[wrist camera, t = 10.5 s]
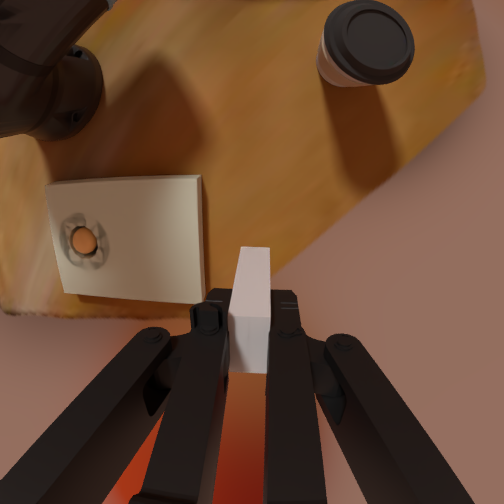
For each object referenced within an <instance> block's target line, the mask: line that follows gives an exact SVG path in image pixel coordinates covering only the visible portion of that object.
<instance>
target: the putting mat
mask: <svg viewBox="0 0 504 504" xmlns="http://www.w3.org/2000/svg"><path fill="white" fill-rule="evenodd" d="M45 192H46V200H47V207H48V214H49V221H50V227H51V233H52V238H53V244H54V249H55V254H56V259H57V263H58V268H59V272H60V276H61V281H62V285H63V289H64V293H72V294H81V295H90V296H100V297H110V298H121V299H132V300H144V301H157V302H171V303H186V304H197V303H200V302H203V301H204V298H205V295H206V291H205V272H204V250H203V222H202V180H201V175H158V176H130V177H110V178H93V179H79V180H67V181H55V182H53V183H50V184H48V185H45ZM82 227H86V228H88V229H90V230H91V231H92V232H93V234H94V235H95V237H96V238H97V246H96V247H95V249H94V250H93V251H92V252H90V253H87V254H83V253H80V252H78V251H77V250H76V249H75V247H74V245H73V236H74V233H75V232H76V231H77V230H78V229H79V228H82Z"/></svg>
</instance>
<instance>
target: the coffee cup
mask: <svg viewBox="0 0 504 504" xmlns="http://www.w3.org/2000/svg"><path fill="white" fill-rule="evenodd" d="M414 50H415V46H414V39H413V35H412V32H411V30H410V28H409V26H408V24H407V23H406V21H405V20H404V19H403V18H402V17H401V15H400V14H398V13H397V12H396V11H395V10H394V9H392V8H391V7H389V6H387V5H385V4H383V3H381V2H378V1H374V0H355V1H351V2H347V3H344V4H342V5H340V6H338V7H337V8H335V9H334V10H333V11H332V12H331V13H330V15H329V16H328V18H327V20H326V23H325V26H324V30H323V33H322V36H321V40H320V44H319V47H318V53H317V57H316V65H317V69H318V71H319V73H320V74H321V76H322V77H323V78H324V79H325V80H326V81H327V82H329V83H330V84H332V85H335V86H338V87H358V86H368V85H382V84H388V83H391V82H394V81H396V80H398V79H399V78H401V77H402V76H403V75H404V74H405V73H406V71H407V70H408V68H409V67H410V65H411V63H412V60H413V57H414Z"/></svg>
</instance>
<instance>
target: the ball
mask: <svg viewBox="0 0 504 504" xmlns="http://www.w3.org/2000/svg"><path fill="white" fill-rule="evenodd" d="M73 245H74V247H75V249H76V250H77V251H78V252H80V253H83V254H87V253H90V252H92V251H93V250H94V249H95V247H96V246H97V238H96V237H95V235H94V234H93V232H92V231H91V230H90V229H88V228H86V227H82V228H79V229H78V230H77V231H76V232H75V233H74V236H73Z"/></svg>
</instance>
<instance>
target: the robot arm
mask: <svg viewBox="0 0 504 504" xmlns="http://www.w3.org/2000/svg"><path fill="white" fill-rule="evenodd" d="M116 1H117V0H0V138H3V137H8V136H13V135H18V134H27V135H29V136H32V137H34V138H37V139H40V140H43V141H57V140H63V139H66V138H69V137H71V136H73V135H75V134H76V133H78V132H79V131H80V130H81V129H83V128H84V127H85V125H86V124H87V123H88V122H89V121H90V119H91V118H92V116H93V114H94V112H95V110H96V108H97V106H98V103H99V100H100V97H101V92H102V72H101V68H100V65H99V63H98V60H97V59H96V57H95V56H94V55H93V54H92V53H91V52H90V51H89V50H88V49H86V48H84V47H81V46H78V45H75V43H76V42H77V41H78V40H79V39H80V38H81V37H82V35H83V34H84V33H85V32H86V31H87V30H88V29H89V28H90V27H91V26H92V25H93V24H94V23H95V22H96V21H97V20H98V19H99V18H100V17H101V16H102V15H103V14H104V13H105V12H106V11H109V10H111V9H112V7H113V4H114V3H115V2H116ZM190 320H191V331H190V332H189V333H187V334H183V335H178V336H170V333H169V332H168V331H167V330H166V329H164V328H161V327H148V328H146V329H143V330H141V331H140V332H139V333H137V334H136V335H135V336H134V337H133V338H132V339H131V340H130V341H129V343H128V344H127V345H126V346H125V347H124V348H123V349H122V350H121V351H120V352H119V353H118V354H117V355H116V356H115V357H114V358H113V359H112V360H111V361H110V362H109V363H108V364H107V365H106V366H105V367H104V369H103V370H102V371H101V372H100V373H99V374H98V375H97V376H96V377H95V378H94V379H93V380H92V381H91V382H90V383H89V384H88V385H87V386H86V388H85V389H84V390H83V391H82V392H81V393H80V394H79V395H78V396H77V397H76V398H75V399H74V401H72V402H71V404H70V405H69V406H68V407H67V408H66V409H65V410H64V411H63V412H62V414H60V415H59V417H58V418H57V419H56V420H55V421H54V422H53V423H52V424H51V425H50V426H49V427H48V428H47V430H46V431H45V432H44V433H43V434H42V435H41V436H40V437H39V438H38V439H37V440H36V442H35V443H34V444H33V445H32V446H31V447H30V448H29V450H27V452H26V453H25V454H24V455H23V456H22V457H21V458H20V459H19V460H18V462H17V463H16V464H15V465H14V466H13V467H12V468H11V469H10V471H9V472H8V473H7V474H6V475H5V476H4V477H3V479H1V480H0V504H102V502H103V501H104V500H105V498H106V497H107V495H108V494H109V492H110V491H111V489H112V488H113V487H114V485H115V484H116V482H117V481H118V479H119V478H120V476H121V475H122V473H123V472H124V470H125V469H126V468H127V466H128V464H129V463H130V462H131V460H132V459H133V457H134V456H135V454H136V453H137V451H138V450H139V448H140V447H141V445H142V444H143V442H144V441H145V439H146V438H147V436H148V435H149V433H150V432H151V430H152V429H153V427H154V426H155V424H156V423H157V421H158V420H159V418H160V417H161V415H162V414H163V412H164V411H165V412H164V415H163V418H162V421H161V425H160V428H159V431H158V434H157V438H156V441H155V444H154V448H153V451H152V454H151V458H150V461H149V464H148V468H147V472H146V475H145V479H144V482H143V485H142V489H141V491H140V492H139V493H138V494H136V495H133V496H132V498H131V499H130V501H129V504H212V500H213V492H214V485H215V477H216V469H217V463H218V455H219V448H220V441H221V433H222V425H223V418H224V411H225V404H226V396H227V389H228V382H229V380H228V379H229V378H228V370H229V371H230V372H246V373H267V376H266V391H265V395H266V413H265V414H266V415H265V452H264V486H263V504H327V497H326V487H325V477H324V468H323V459H322V451H321V442H320V434H319V426H318V418H317V410H316V403H315V395H314V393H315V394H316V398H317V400H318V402H319V404H320V406H321V408H322V411H323V413H324V415H325V417H326V418H327V421H328V423H329V425H330V427H331V429H332V431H333V433H334V435H335V438H336V440H337V441H338V443H339V446H340V448H341V450H342V452H343V454H344V456H345V458H346V460H347V462H348V464H349V466H350V468H351V470H352V473H353V474H354V477H355V479H356V480H357V483H358V485H359V487H360V489H361V491H362V493H363V495H364V497H365V499H366V501H367V503H368V504H475V503H474V502H473V500H472V499H471V497H470V496H469V494H468V493H467V491H466V490H465V488H464V487H463V485H462V484H461V482H460V481H459V479H458V478H457V476H456V475H455V473H454V472H453V470H452V469H451V467H450V466H449V464H448V463H447V462H446V460H445V459H444V457H443V456H442V454H441V453H440V451H439V450H438V448H437V447H436V446H435V444H434V443H433V441H432V440H431V439H430V437H429V436H428V434H427V433H426V431H425V430H424V429H423V427H422V426H421V424H420V423H419V421H418V420H417V419H416V417H415V416H414V415H413V413H412V412H411V410H410V409H409V408H408V406H407V405H406V403H405V402H404V401H403V399H402V398H401V396H400V395H399V394H398V392H397V391H396V390H395V388H394V387H393V386H392V384H391V383H390V381H389V380H388V379H387V377H386V376H385V375H384V373H383V372H382V371H381V369H380V368H379V367H378V365H377V364H376V363H375V361H374V360H373V358H372V357H371V356H370V354H369V353H368V352H367V350H366V349H365V348H364V346H363V345H362V344H361V342H360V341H359V340H358V339H357V338H355V337H353V336H351V335H348V334H334V335H331V336H330V337H328V338H327V340H326V342H324V341H319V340H316V339H313V338H311V337H309V336H307V335H306V333H305V331H304V329H303V328H302V327H301V322H300V315H299V309H298V302H297V296H296V295H295V294H294V293H293V292H292V290H270V248H265V247H241V250H240V255H239V260H238V265H237V270H236V275H235V281H234V286H233V289H222V288H214V289H212V290H211V291H210V292H209V293H208V294H207V297H206V301H205V302H200V303H197V304H195V305H194V306H192V307H191V309H190Z"/></svg>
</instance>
